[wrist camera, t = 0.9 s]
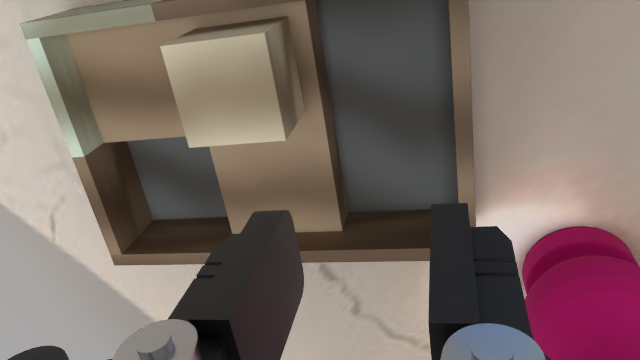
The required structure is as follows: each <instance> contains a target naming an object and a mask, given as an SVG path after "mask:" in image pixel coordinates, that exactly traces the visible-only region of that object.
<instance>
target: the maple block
mask: <svg viewBox="0 0 640 360" xmlns="http://www.w3.org/2000/svg"><path fill="white" fill-rule="evenodd" d="M160 48H161V51H162V55H163V58H164V62H165V65H166V69H167V72H168V76H169V79H170V83H171V86H172V90H173V93H174V97H175V100H176V104H177V107H178V111H179V114H180V118H181V121H182V125H183V128H184V132H185V135H186V139H187V142H188V146H189V148H194V147H207V146H221V145H234V144H248V143H261V142H275V141H286V140H287V138H288V137H289V135H290V134H291V132H292V131H293V129H294V127H295V126H296V124H297V123H298V121H299V120H300V118H301V117H302V115H303V114H304V112H305V111H304V105H303V99H302V94H301V88H300V82H299V77H298V71H297V66H296V60H295V54H294V49H293V43H292V37H291V32H290V26H289V20H288V16H284V17H277V18H269V19H262V20H254V21H247V22H240V23H232V24H225V25H217V26H210V27H202V28H195V29H193V30H191V31H189V32H187V33H185V34H183V35H181V36H179V37H177V38H175V39H173V40H171V41H169V42H167V43H165V44H163V45H161V46H160Z"/></svg>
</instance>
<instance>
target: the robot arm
mask: <svg viewBox="0 0 640 360" xmlns="http://www.w3.org/2000/svg"><path fill="white" fill-rule="evenodd" d="M303 287H304V274H303V267H302V262H301V257H300V252H299V247H298V242H297V238H296V233H295V228H294V223H293V219H292V216H291V213H290V212H289V211H288V210H270V211H255V212H253V213H252V215H251V217H250V218H249V220H248V222H247V223H246V225H245V227H244V228H243V230H242V231H241V233H240V234H231V235H230V236H229V237H228V238H226V239H225V240H224V241H222V242H221V243H220V244H219V245H217V246H216V247H215V248H214V249H213V251H212V253H211V254H210V256H209V257H208V259H207V260H206V262H205V266H202V268H201V269H200V271H199V272H198V274H197V278H196V279H194V280H193V282H192V283H191V285H190V286H189V288H188V289H187V291H186V292H185V294H184V295H183V297H182V298H181V300H180V301H179V303H178V304H177V306H176V308H175V309H174V311H173V312H172V314H171V315H170V317H169V318H168V319H167V320H162V321H158V322H154V323H152V324H149V325H147V326H145V327H143V328H141V329H139V330H137V331H136V332H134V333H133V334H132V335H130V336H129V337H128V338H127V339H126V340H125V341H124V342H123V343H122V344H121V345H120V347H119V348H118V349H117V351H116V353H115V355H114V357H113V359H109V360H280V358H281V355H282V353H283V350H284V347H285V344H286V341H287V338H288V335H289V332H290V330H291V327H292V324H293V321H294V318H295V315H296V312H297V309H298V307H299V304H300V301H301V298H302V294H303ZM429 333H430V345H431V356H432V360H551V359H550V358H549V357H548V356H547V355H546V354H544V353H543V351H542V350H541V348H540V347H539V345H538V344H537V343H536V342H535V340H534V338H533V335H532V332H531V327H530V323H529V318H528V314H527V309H526V305H525V300H524V296H523V291H522V287H521V282H520V278H519V274H518V269H517V264H516V262H515V255H514V251H513V246H512V242H511V240H510V239H509V238H508V237H507V236H506V235H505V234H504V233H503V232H502V231H501V230H500V229H499V228H498V227H497V226H492V227H470V221H469V211H468V203H449V204H431V232H430V281H429ZM8 360H69V358H68V356H67V354H66V353H65V351H64V350H63V349H61V348H59V347H56V346H41V347H36V348H32V349H29V350H26V351H24V352H22V353H19V354H17V355H15V356H13V357H11V358H10V359H8Z"/></svg>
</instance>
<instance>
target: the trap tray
mask: <svg viewBox="0 0 640 360" xmlns="http://www.w3.org/2000/svg"><path fill="white" fill-rule="evenodd" d="M284 16H288V20H289V26H290V32H291V37H292V43H293V49H294V54H295V60H296V66H297V71H298V77H299V82H300V88H301V94H302V99H303V105H304V111H305V112H304V114H303V115H302V117H301V118H300V120H299V121H298V123H297V124H296V126H295V127H294V129H293V131H292V132H291V134H290V135H289V137H288V138H287V140H286V141H275V142H261V143H248V144H234V145H221V146H207V147H194V148H189V146H188V142H187V139H186V135H185V132H184V128H183V125H182V121H181V118H180V114H179V111H178V107H177V104H176V100H175V97H174V93H173V90H172V86H171V83H170V79H169V76H168V72H167V69H166V65H165V62H164V58H163V55H162V51H161V48H160V46H161V45H163V44H165V43H167V42H169V41H171V40H173V39H175V38H177V37H179V36H181V35H183V34H185V33H187V32H189V31H191V30H193V29H195V28H202V27H210V26H217V25H225V24H232V23H240V22H247V21H254V20H262V19H269V18H277V17H284ZM20 26H21V28H22V31H23V33H24V36H25V39H26V41H27V44H28V46H29V49H30V51H31V54H32V56H33V59H34V61H35V64H36V67H37V69H38V72H39V74H40V77H41V79H42V82H43V84H44V87H45V89H46V92H47V95H48V97H49V100H50V102H51V105H52V107H53V110H54V112H55V115H56V117H57V120H58V123H59V125H60V128H61V130H62V133H63V135H64V138H65V140H66V143H67V146H68V148H69V151H70V153H71V156H72V158H73V161H74V163H75V166H76V168H77V171H78V174H79V176H80V179H81V181H82V184H83V186H84V189H85V191H86V194H87V196H88V199H89V202H90V204H91V207H92V209H93V212H94V214H95V217H96V219H97V222H98V224H99V227H100V230H101V232H102V235H103V237H104V240H105V242H106V245H107V247H108V250H109V252H110V255H111V258H112V260H113V263H114V265H173V264H205V262H206V260H207V259H208V257H209V256H210V254H211V253H212V251H213V249H214V248H215V247H216V246H217V245H219V244H220V243H221V242H222V241H224V240H225V239H226V238H228V237H229V236H230V235H231V234H240V233H241V231H242V230H243V228H244V227H245V225H246V223H247V222H248V220H249V218H250V217H251V215H252V213H253V212H255V211H270V210H288V211H289V212H290V213H291V216H292V219H293V223H294V228H295V233H296V238H297V242H298V247H299V252H300V257H301V262H302V263H310V262H378V261H430V232H431V204H449V203H468V211H469V221H470V227H476V217H475V187H474V157H473V127H472V97H471V67H470V38H469V8H468V0H128V1H122V2H115V3H109V4H102V5H96V6H89V7H83V8H76V9H71V10H68V11H64V12H61V13H57V14H53V15H50V16H46V17H43V18H39V19H35V20H32V21H28V22H25V23H21V24H20Z"/></svg>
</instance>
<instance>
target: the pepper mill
mask: <svg viewBox="0 0 640 360" xmlns="http://www.w3.org/2000/svg"><path fill="white" fill-rule="evenodd" d="M522 274H523V281H524V285H525V289H526V293H527V296H526V298H525V305H526V309H527V314H528V318H529V323H530V327H531V332H532V335H533V338H534V340H535V342H536V343H537V344H538V345H539V347H540V348H541V350H542V351H543V353H544V354H546V355H547V356H548V357H549V358H550V359H551V360H640V267H639V266H638V264H637V262H636V261H635V259H634V257H633V255H632V253H631V252H630V250H629V248H628V247H627V246H626V244H625V243H624V242H622V241H621V240H620V239H619V238H617V237H616V236H614V235H612V234H610V233H608V232H606V231H603V230H599V229H595V228H586V227H575V228H568V229H563V230H560V231H557V232H555V233H552V234H549V235H548V236H546V237H545V238H543V239H542V240H540V241H539V242H538V243H537V244H536V245H535V246H534V247H533V248H532V249H531V250H530V252H529V253H528V254H527V256H526V259H525V261H524V264H523V270H522Z"/></svg>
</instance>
